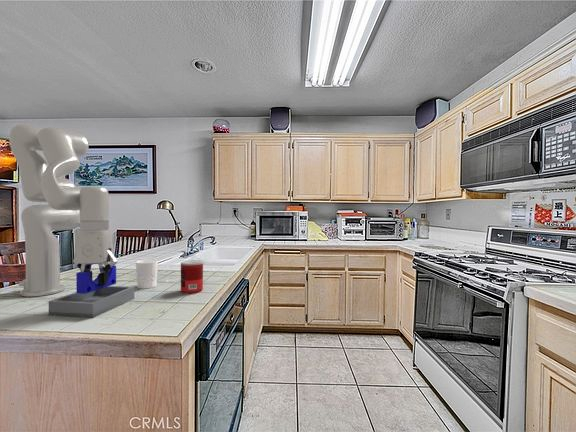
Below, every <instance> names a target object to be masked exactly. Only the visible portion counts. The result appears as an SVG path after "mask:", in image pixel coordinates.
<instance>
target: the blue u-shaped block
mask: <svg viewBox="0 0 576 432" xmlns="http://www.w3.org/2000/svg"><path fill="white" fill-rule="evenodd" d="M75 275H76V282H75V283H76V287H75V288H76V292H77V293H82V294H86V293H89V292H92V291H95V290H98V289H101V288H104V287H107V286H115V285H116V284H117V265H114V266H113V267H112V268H111V269H110V271H109V272H108V284H106V285H103V286H99V285H98V275H97V276H96V277H95V279H94V280H93V279H92V280H91V278H90V272H80V271H78V272H76V273H75Z"/></svg>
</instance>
